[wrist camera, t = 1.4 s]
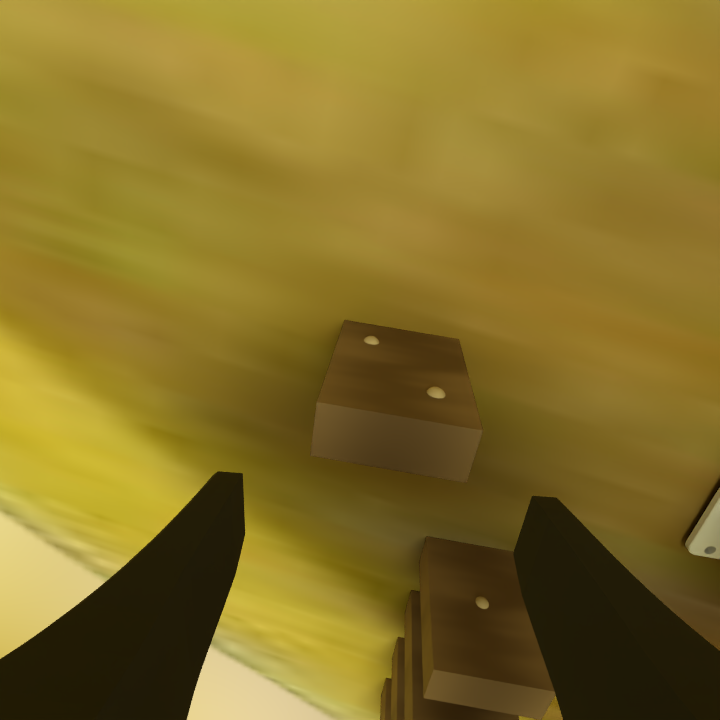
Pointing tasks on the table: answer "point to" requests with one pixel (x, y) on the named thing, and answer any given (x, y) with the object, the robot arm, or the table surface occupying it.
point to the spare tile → (398, 403)
